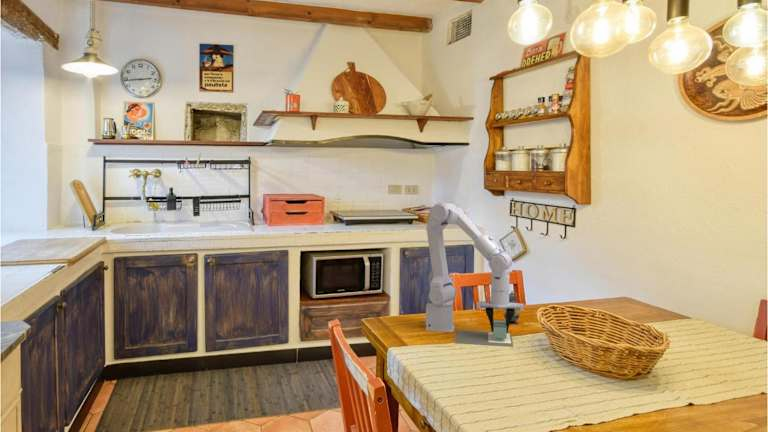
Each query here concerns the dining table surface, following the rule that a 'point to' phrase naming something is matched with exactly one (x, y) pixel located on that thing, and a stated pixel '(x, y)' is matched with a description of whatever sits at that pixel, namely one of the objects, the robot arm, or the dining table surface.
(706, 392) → the dining table surface
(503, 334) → the teal block
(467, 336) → the mat
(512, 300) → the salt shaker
